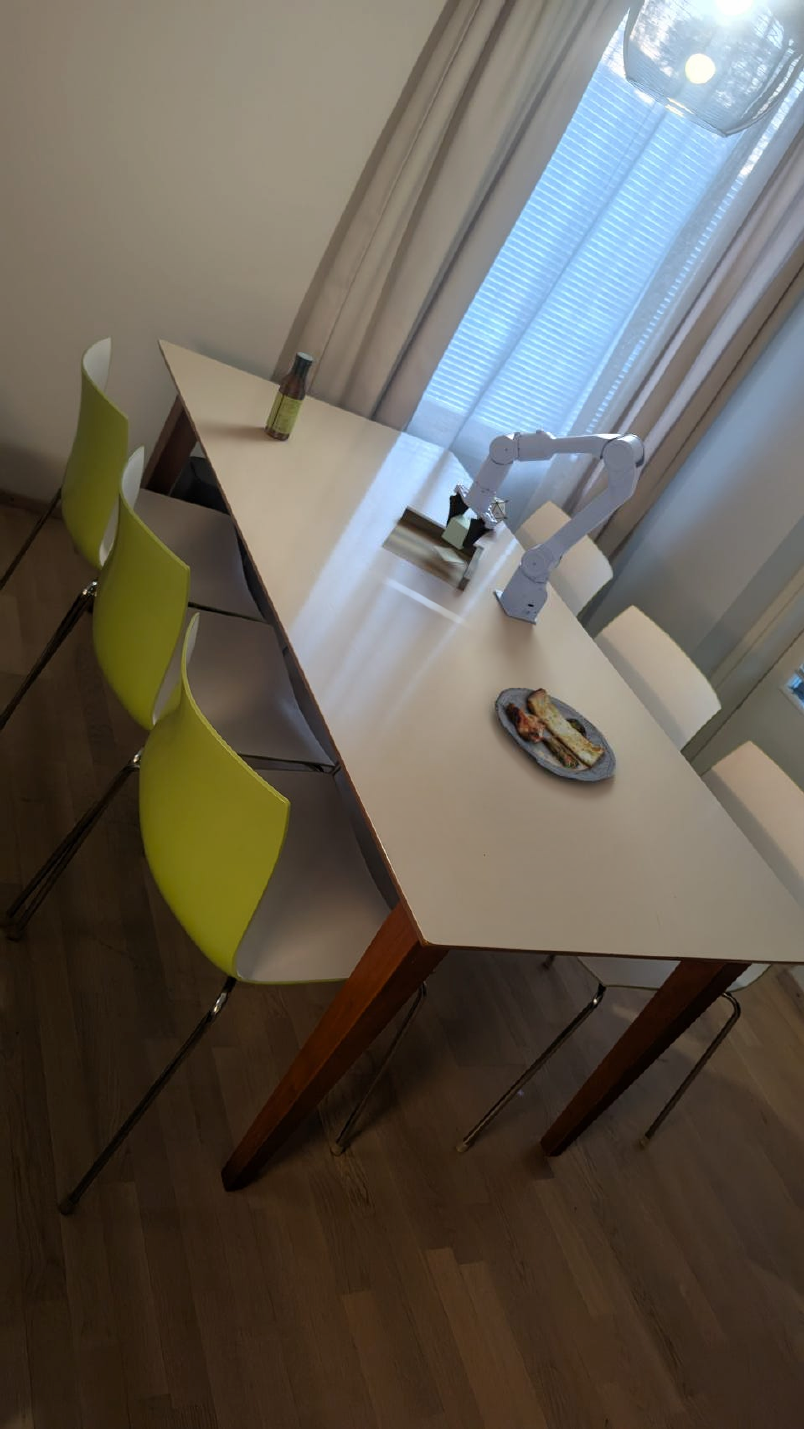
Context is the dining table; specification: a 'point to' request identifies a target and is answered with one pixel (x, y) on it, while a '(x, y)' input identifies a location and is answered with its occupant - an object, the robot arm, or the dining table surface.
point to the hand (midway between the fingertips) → (457, 537)
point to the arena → (432, 549)
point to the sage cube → (457, 531)
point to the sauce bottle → (289, 399)
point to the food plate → (555, 733)
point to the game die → (498, 510)
